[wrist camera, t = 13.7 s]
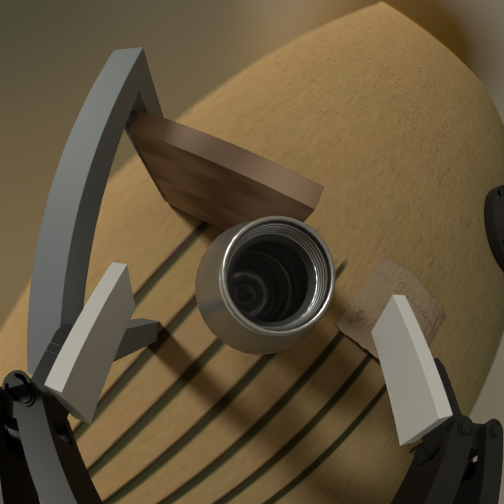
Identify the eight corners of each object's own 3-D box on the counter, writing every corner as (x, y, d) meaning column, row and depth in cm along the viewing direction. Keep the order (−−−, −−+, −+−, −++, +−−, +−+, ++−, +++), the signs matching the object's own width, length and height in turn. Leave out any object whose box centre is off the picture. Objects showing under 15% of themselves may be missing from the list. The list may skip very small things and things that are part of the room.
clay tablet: (445, 318, 30) (458, 318, 27) (407, 385, 28) (419, 390, 25) (373, 250, 31) (384, 245, 28) (325, 323, 29) (334, 325, 26)
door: (160, 200, 28) (115, 124, 15) (173, 179, 29) (139, 94, 15) (274, 254, 28) (314, 209, 15) (285, 231, 29) (331, 170, 15)
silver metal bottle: (271, 257, 29) (352, 166, 9) (281, 323, 28) (386, 358, 8) (208, 265, 28) (165, 181, 9) (217, 332, 27) (188, 396, 8)
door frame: (181, 173, 30) (143, 47, 12) (157, 340, 26) (59, 386, 9) (164, 172, 30) (113, 50, 12) (138, 337, 26) (27, 372, 9)
